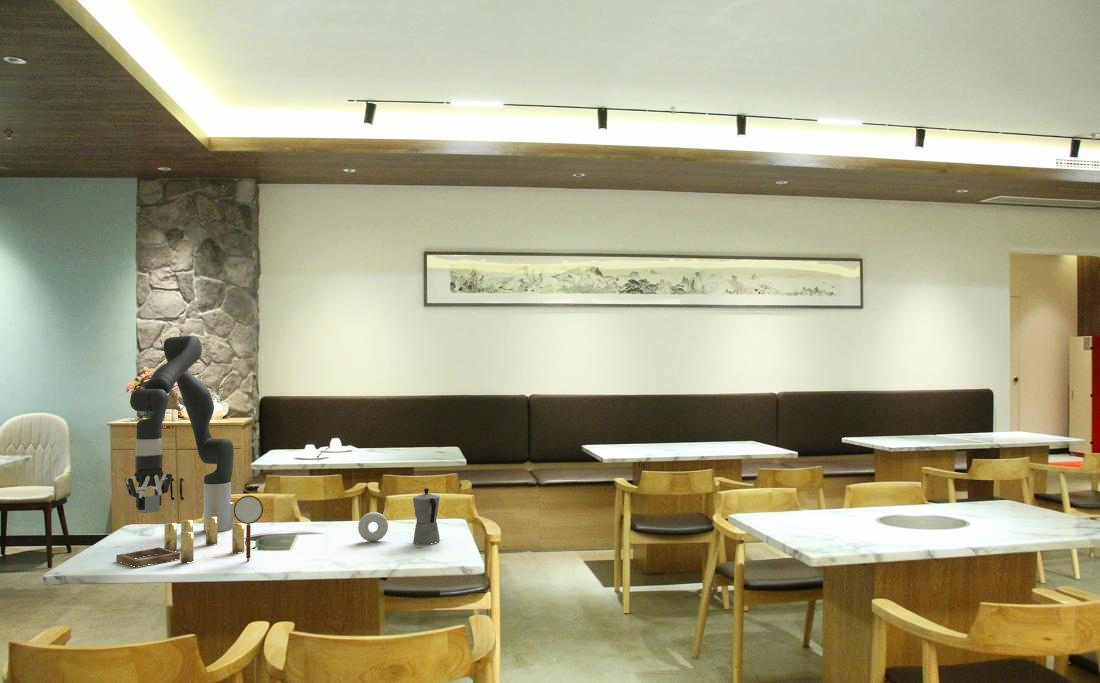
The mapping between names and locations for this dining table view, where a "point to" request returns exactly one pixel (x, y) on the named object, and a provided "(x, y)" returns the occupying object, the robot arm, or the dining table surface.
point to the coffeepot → (426, 518)
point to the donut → (367, 520)
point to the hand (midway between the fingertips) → (148, 508)
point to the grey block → (150, 503)
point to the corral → (130, 557)
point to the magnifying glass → (248, 515)
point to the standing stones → (211, 537)
